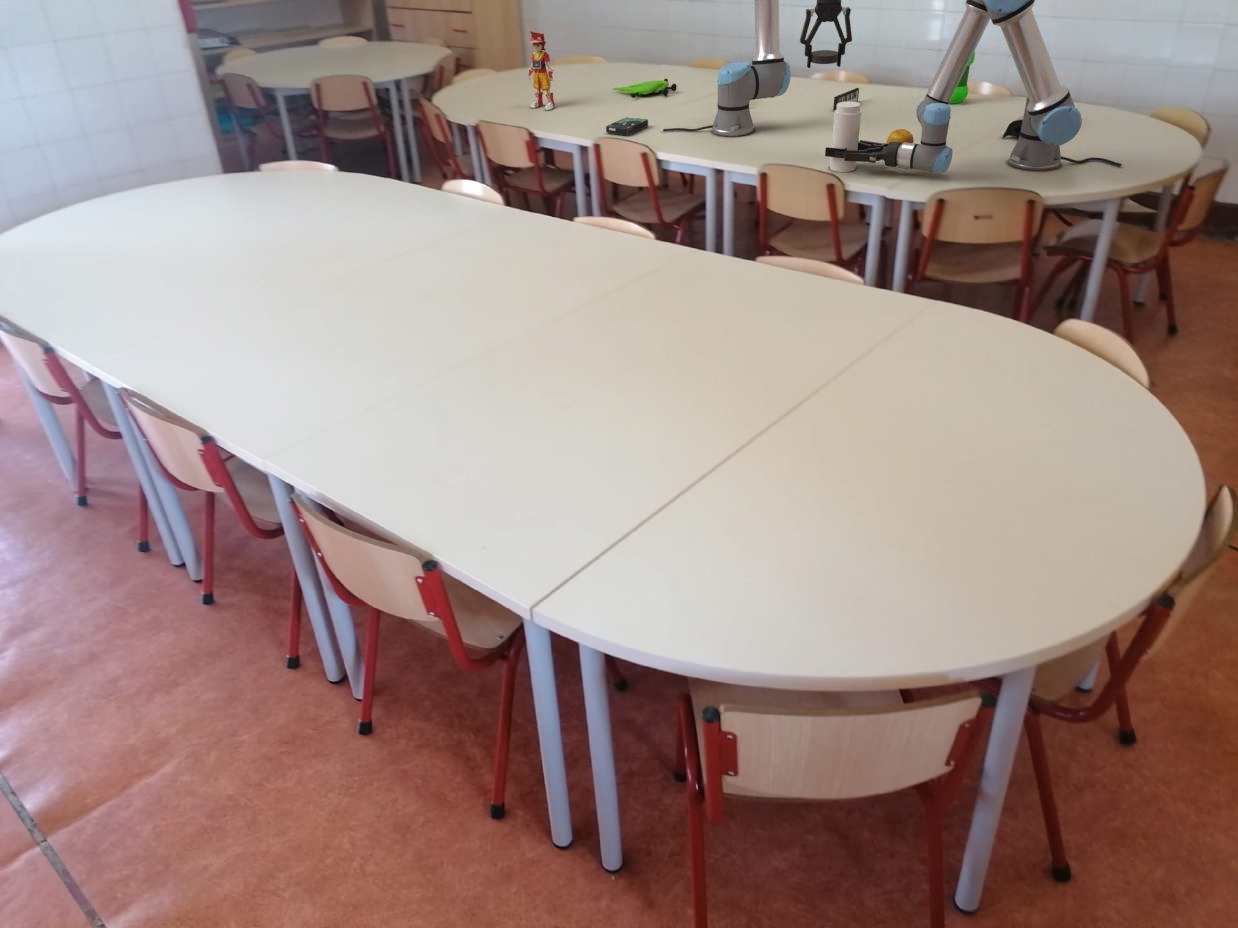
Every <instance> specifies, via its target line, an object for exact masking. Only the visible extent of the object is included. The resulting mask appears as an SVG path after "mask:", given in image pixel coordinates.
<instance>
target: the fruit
mask: <svg viewBox="0 0 1238 928" xmlns="http://www.w3.org/2000/svg"><path fill="white" fill-rule="evenodd" d="M914 140H915V139H914V136H913V134H912V132H910V130H907V129H904V128H898V129H894V130H893V131H891V132H890V133H889V134H888V136H887V138H886V143H887V144H888V143H889V142H891V141H892V142H901V143H902V144H903V143H904V142H905V143H914V142H915V141H914Z"/></svg>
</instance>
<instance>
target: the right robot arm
mask: <svg viewBox="0 0 1238 928" xmlns="http://www.w3.org/2000/svg"><path fill="white" fill-rule="evenodd" d="M1035 3H1036V0H966V1H965V3H964V5H965V8H966V9H965V11H964V13H963V15H962V17H961V19H960V22H959V24H958V26H957V28H956V30H955V32H954V34H953V37H952V39H951V41H950V43H949V45H948V47H947V49H946V52H945V54H944V56H943V58H942V60H941V62H940V64H939V66H938V68H937V71H936V73H935V75H934V77H933V79H932V81H931V83H930V86H929V88H928V89H927V92H926V95H925V97H923V98H924V99H923V100H921V102H919V104H918V105H917V107H916V119H917V121H918V122H919V124H920V126H921V137H920V143H914V142H913V143H905V142H904V143H903V144H902V143H901V142H892V141H891V142H889V143H888V144H887V142H885V143H884V142H876V141H869V140H863V139H860V140H858V150H847V148H845V149H839V148H832V147H829V146H827V147H825V151H824V157H828V158H831V157H836V158H844V161H856V163H857V162H858V163H859V162H861V163H871V164H875V163H877V162H880V161H883V163H884V166H885V167H891V168H897V167H898V168H901V169H905V170H906V171H909V170H919V171H927V172H931V173H933V172H936V173H944V172H946V171H948V170H949V169H950V166H951V164H952V159H953V148H952V147H951V146H948V145H947V138H948V132H949V126H950V120H951V111H952V109H951V108H952V107H951V106H950V103H949V102H950V100H951V98H952V96H953V94H954V92H955V90H956V88H957V85H958V83H959V81H960V79H961V77H962V75H963V73H964V71H965V69H966V67H967V65H968V63H969V61H970V59H971V57H972V55H973V53H974V51H975V52H976V49H977V46H978V44H979V43H980V40H981V39H982V37H983V34H984V32H985V30H986V28H987V26H988V24H989V22H990V20H991V23H992V25H993V26H997V27H999V28H1000V29H1001V31H1002V34H1003V36H1004V39H1005V41H1006V44H1007V47H1008V49H1009V52H1010V54H1011V56H1012V59H1013V62H1014V65H1015V67H1016V69H1017V73H1018V75H1019V77H1020V79H1021V82H1022V85H1023V87H1024V90H1025V92H1026V95H1027V97H1026V99H1025V107H1024V111H1023V115H1022V116H1023V122H1022V127H1021V132H1020V137H1019V139H1017V141H1016V143H1015V145H1014V147H1013V148H1012V151H1011V152H1010V155H1009V158H1008V164H1009V165H1010V166H1012V167H1014V168H1016V169H1021V170H1027V171H1051V170H1055V169H1058V168H1059V167H1060V166H1061V162H1062V160H1064V161H1067V162H1070V163H1073V164H1083V163H1086V162H1090V161H1100V162H1104V163H1108V164H1111V165H1114V166H1118V167H1122V164H1123V163H1121V162H1116V161H1113V160H1112V159H1111V160H1110V159H1107V158H1103V157H1086V158H1084V159H1080V160H1076V159H1073V158H1069V157H1066V156H1062V154H1061V146H1062V145H1065V144H1067V143H1069V142H1071V141H1072V140H1073V139H1074V138H1076V136H1077V135H1078V133H1079V132H1080V130H1081V127H1082V122H1083V117H1082V114H1081V111H1080V110H1079V109H1078V108H1076V106H1075V104H1074V100H1073V98H1072V96H1071V91H1070V89H1069V88H1068V87H1067V86H1062V85H1061V84H1060V81H1059V77H1058V75H1057V73H1056V71H1055V68H1054V67H1055V66H1054V65H1053V62H1052V60H1051V57H1050V54H1049V51H1048V49H1047V47H1046V43H1045V41H1044V37H1043V36H1042V33H1041V30H1040V28H1039V25H1038V23H1037V20H1036V17H1035V15H1034V12H1033V7H1034V5H1035ZM848 155H849V157H848Z"/></svg>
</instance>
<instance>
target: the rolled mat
mask: <svg viewBox="0 0 1238 928" xmlns="http://www.w3.org/2000/svg"><path fill="white" fill-rule="evenodd" d="M1023 116H1024V115H1022V116H1020V117H1018V118H1016V119H1014V120H1013V121H1011V122H1010V123H1009V124H1008V125H1007V127H1006V129H1005V131H1004V133H1003V135H1002V139H1004V138H1006V137H1013V138H1015V139H1016V140H1018V139H1019V137H1020V132H1021V127H1022V122H1023Z"/></svg>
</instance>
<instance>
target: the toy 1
mask: <svg viewBox="0 0 1238 928" xmlns="http://www.w3.org/2000/svg"><path fill="white" fill-rule="evenodd" d="M529 33H530V35H531V36H528V37H527V38H528V39H529V40H528V41H527V43H529V44H530V43H531V44H532V48H533V50H534V51H533V52H532V55H531V58H530V59H531V63H530V66H528V74H527V75H528V76H527V77H528V79H529V80H531V75H532V74H533V84H532V85H533V86H532V87H533V88H534V89H535V90H536V92H534V95H535V97H536V100H535V101H533V102H531V105H530V108H531V109H535V108H538V107H542V106H544V101H543V100H544V99H543V95H544V92H546V94H545V97H546V99H547V103H546V104H545V106H544V110H546V111H549V110H553V109H554V107H555V106H556V105H555V99H554V92H551V91H550V90H551V86H552V84H551V82H552V81H553V80H554V77H553V73H554V71H555V70H554V69H552V68H551V63H550V61H551V59H550V58H551V57H550V54H549V53H548V52H547V50H546V48H545V46H546V44H547V41H545V35H544V33H543V32H542V33H539V32H535V31H529Z"/></svg>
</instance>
